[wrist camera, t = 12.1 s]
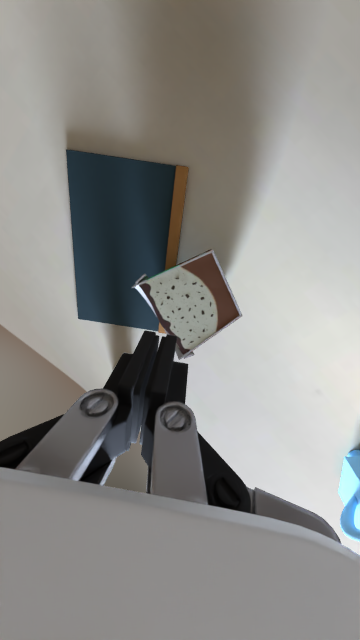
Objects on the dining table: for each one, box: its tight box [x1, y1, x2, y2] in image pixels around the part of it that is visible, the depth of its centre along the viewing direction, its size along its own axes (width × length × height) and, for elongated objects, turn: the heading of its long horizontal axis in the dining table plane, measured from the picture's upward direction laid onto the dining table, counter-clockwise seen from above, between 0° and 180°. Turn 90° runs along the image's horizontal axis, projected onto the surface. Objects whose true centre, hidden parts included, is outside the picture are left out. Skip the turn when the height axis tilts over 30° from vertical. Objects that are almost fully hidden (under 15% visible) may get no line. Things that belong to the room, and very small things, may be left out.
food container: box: [131, 250, 242, 360], centre depth 29 cm, size 12×6×10 cm
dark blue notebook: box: [66, 149, 188, 334], centre depth 30 cm, size 22×14×1 cm, turn 172°
